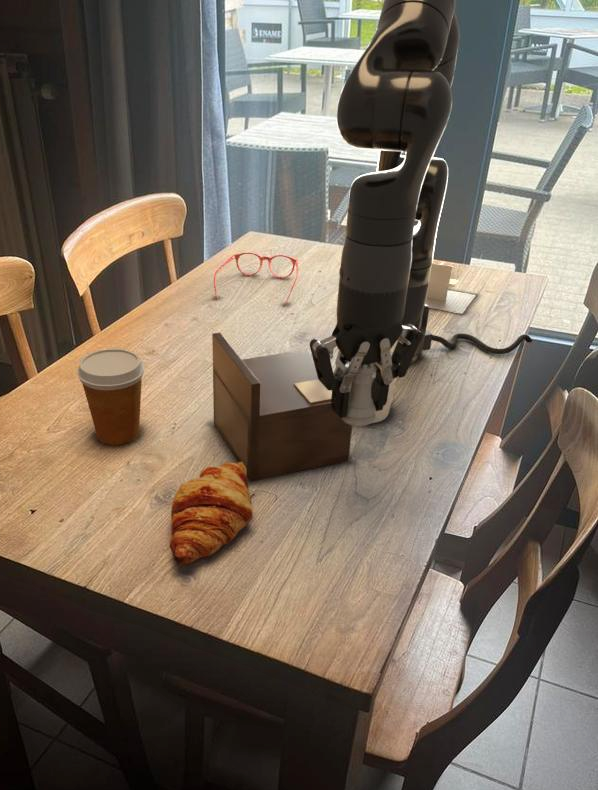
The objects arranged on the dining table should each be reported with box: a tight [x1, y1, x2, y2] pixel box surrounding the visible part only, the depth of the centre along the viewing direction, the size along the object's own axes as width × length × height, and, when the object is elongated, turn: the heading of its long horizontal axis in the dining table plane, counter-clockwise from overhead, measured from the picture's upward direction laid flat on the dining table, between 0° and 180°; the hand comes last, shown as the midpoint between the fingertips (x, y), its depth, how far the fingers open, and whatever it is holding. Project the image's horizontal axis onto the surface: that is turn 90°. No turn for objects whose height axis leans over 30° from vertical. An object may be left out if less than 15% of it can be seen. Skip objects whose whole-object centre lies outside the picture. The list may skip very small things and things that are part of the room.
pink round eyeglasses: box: [213, 252, 299, 306], centre depth 155 cm, size 17×16×5 cm
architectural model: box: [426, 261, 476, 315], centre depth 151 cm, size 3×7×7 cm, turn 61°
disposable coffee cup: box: [76, 347, 146, 446], centre depth 105 cm, size 10×10×12 cm
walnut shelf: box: [211, 332, 353, 482], centre depth 103 cm, size 15×16×15 cm
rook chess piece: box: [342, 362, 377, 427], centre depth 88 cm, size 4×4×8 cm
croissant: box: [169, 461, 254, 565], centre depth 91 cm, size 21×10×8 cm, turn 162°
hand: (358, 410), depth 90 cm, fingers closed on rook chess piece, 4 cm apart
